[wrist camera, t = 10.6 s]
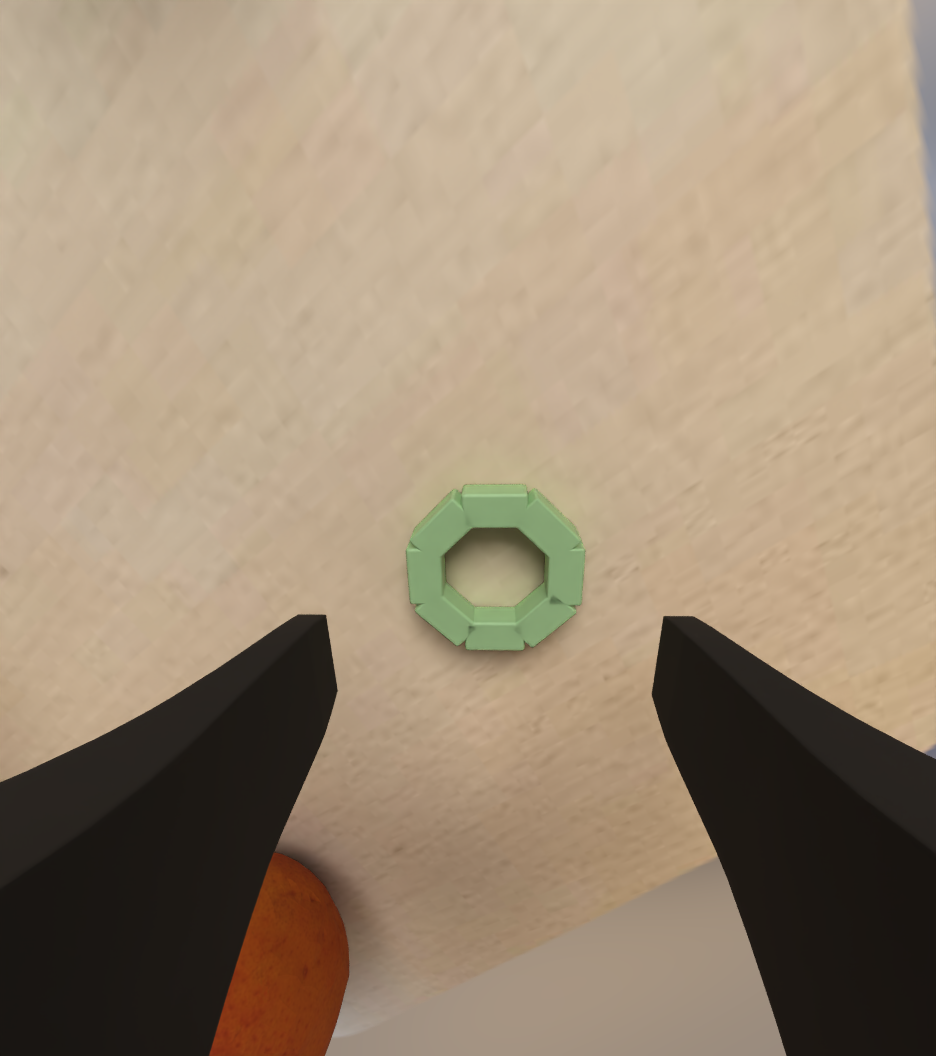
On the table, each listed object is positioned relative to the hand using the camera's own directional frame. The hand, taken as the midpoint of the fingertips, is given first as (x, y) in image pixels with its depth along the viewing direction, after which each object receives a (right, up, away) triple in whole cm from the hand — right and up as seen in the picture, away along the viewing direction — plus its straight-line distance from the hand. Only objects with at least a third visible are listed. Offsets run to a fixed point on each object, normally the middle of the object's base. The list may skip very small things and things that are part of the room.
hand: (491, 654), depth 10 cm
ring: (0, +2, +4) cm, 5 cm away
